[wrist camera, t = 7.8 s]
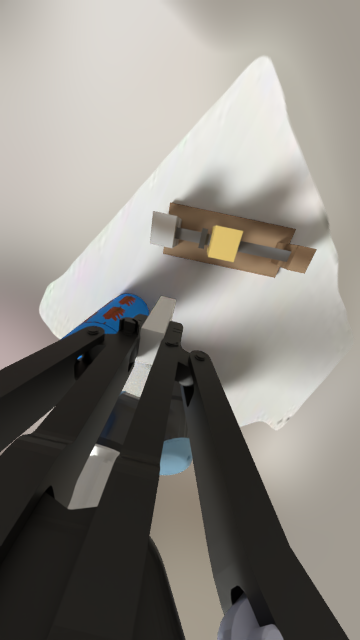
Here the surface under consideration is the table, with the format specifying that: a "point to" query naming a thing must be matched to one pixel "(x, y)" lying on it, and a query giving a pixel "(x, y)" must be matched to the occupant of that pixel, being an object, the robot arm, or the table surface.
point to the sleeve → (224, 243)
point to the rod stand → (254, 248)
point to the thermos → (114, 314)
